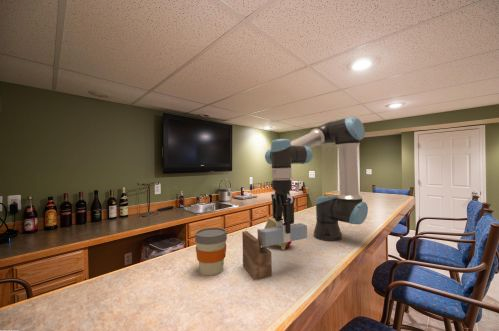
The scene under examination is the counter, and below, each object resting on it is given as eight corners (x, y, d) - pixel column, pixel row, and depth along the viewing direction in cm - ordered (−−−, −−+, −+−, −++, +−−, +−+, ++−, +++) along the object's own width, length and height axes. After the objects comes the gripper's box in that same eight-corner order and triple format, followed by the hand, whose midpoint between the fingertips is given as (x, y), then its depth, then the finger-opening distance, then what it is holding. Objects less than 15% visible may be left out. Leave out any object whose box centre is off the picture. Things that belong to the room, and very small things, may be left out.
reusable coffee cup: (232, 264, 87) (231, 228, 87) (218, 280, 75) (217, 238, 75) (206, 261, 91) (205, 226, 91) (188, 275, 79) (188, 235, 80)
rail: (300, 235, 87) (300, 222, 87) (307, 238, 84) (306, 225, 84) (257, 243, 79) (257, 229, 79) (263, 246, 75) (262, 232, 75)
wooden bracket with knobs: (258, 262, 89) (257, 229, 89) (271, 276, 78) (271, 238, 78) (242, 265, 86) (242, 231, 86) (254, 280, 75) (253, 240, 75)
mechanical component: (288, 264, 101) (305, 226, 100) (256, 247, 104) (271, 211, 103) (289, 257, 109) (304, 222, 107) (258, 242, 112) (272, 208, 110)
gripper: (263, 178, 88) (264, 234, 88) (285, 180, 72) (287, 249, 72) (278, 178, 91) (280, 232, 91) (303, 179, 75) (305, 245, 75)
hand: (283, 239), depth 81 cm, fingers closed on rail, 4 cm apart
